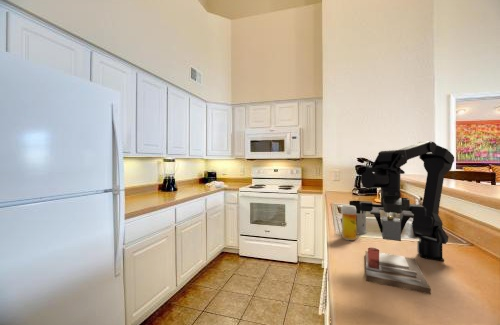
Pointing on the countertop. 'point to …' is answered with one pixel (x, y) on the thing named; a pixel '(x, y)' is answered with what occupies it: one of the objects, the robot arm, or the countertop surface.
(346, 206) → the beer can
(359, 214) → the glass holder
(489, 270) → the countertop surface
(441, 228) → the robot arm
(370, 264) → the lever
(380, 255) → the base
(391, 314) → the countertop surface
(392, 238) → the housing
